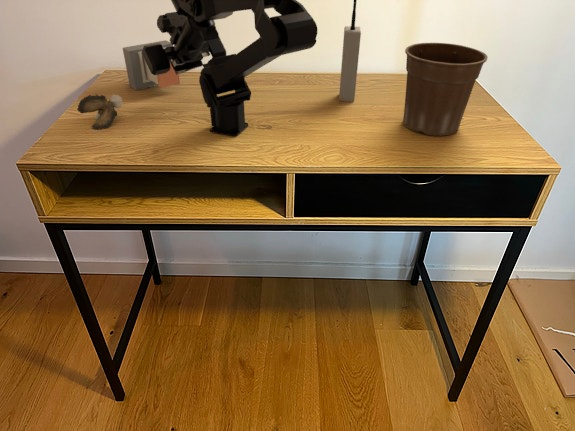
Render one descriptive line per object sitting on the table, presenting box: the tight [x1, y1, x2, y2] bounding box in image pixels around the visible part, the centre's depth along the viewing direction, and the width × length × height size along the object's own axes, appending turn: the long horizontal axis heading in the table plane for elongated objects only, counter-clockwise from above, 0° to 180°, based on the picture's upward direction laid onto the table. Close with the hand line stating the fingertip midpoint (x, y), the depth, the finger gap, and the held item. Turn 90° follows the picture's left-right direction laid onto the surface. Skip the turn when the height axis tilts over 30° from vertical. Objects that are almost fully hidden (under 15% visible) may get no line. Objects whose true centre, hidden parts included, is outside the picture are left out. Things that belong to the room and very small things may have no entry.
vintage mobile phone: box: [338, 0, 362, 103], centre depth 109 cm, size 4×5×25 cm
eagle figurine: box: [77, 93, 123, 131], centre depth 102 cm, size 8×7×9 cm
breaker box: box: [122, 39, 174, 91], centre depth 121 cm, size 4×12×10 cm, turn 129°
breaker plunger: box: [142, 55, 181, 89], centre depth 118 cm, size 10×5×6 cm, turn 39°
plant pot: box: [402, 42, 489, 137], centre depth 99 cm, size 16×16×16 cm
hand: (176, 72), depth 111 cm, fingers closed
